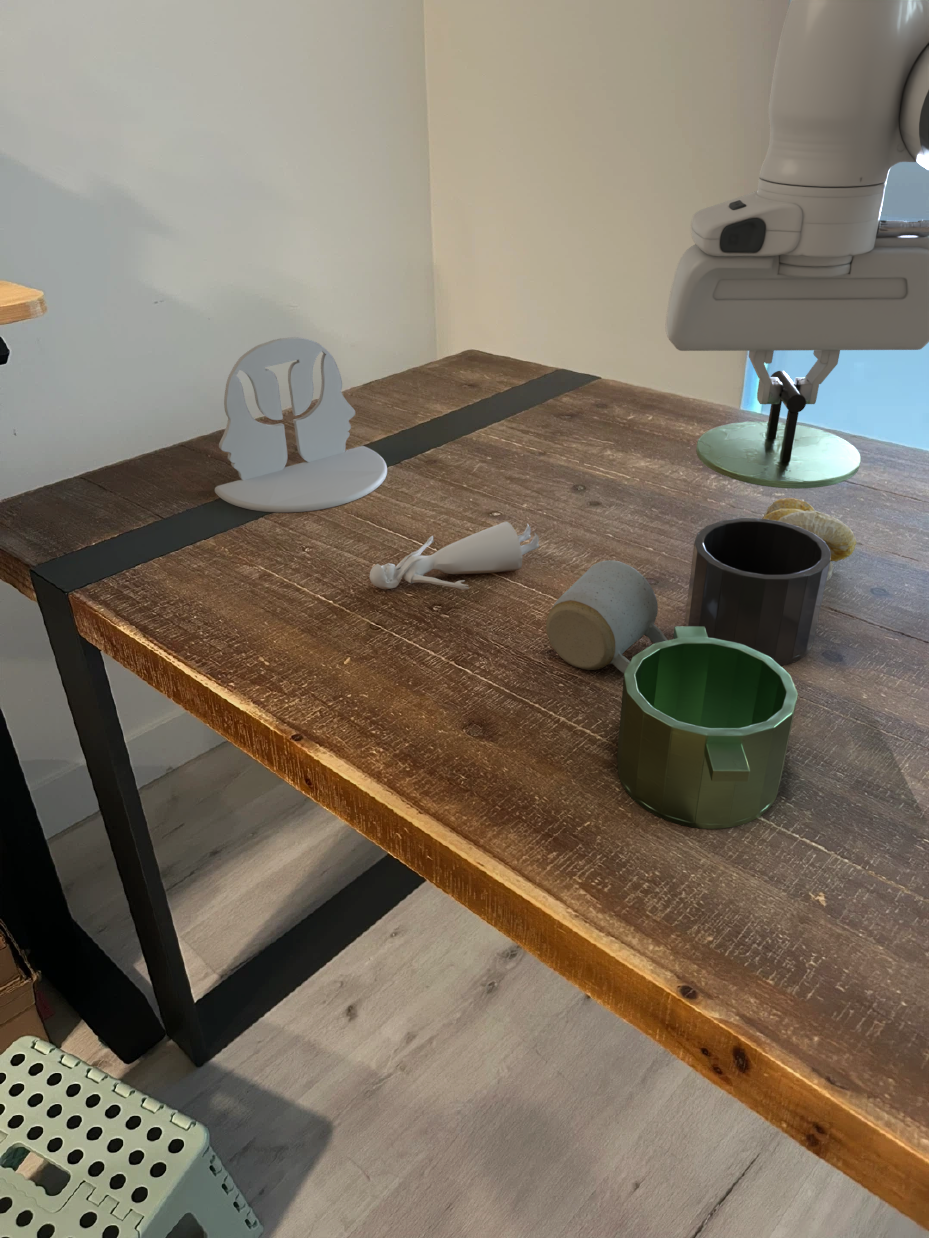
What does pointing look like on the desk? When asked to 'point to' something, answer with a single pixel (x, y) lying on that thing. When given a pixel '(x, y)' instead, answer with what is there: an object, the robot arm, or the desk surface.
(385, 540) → the desk surface
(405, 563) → the woman figurine
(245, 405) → the ornament
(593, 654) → the ceramic mug
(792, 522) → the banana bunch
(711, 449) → the pot lid
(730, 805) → the pot
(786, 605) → the black cup
